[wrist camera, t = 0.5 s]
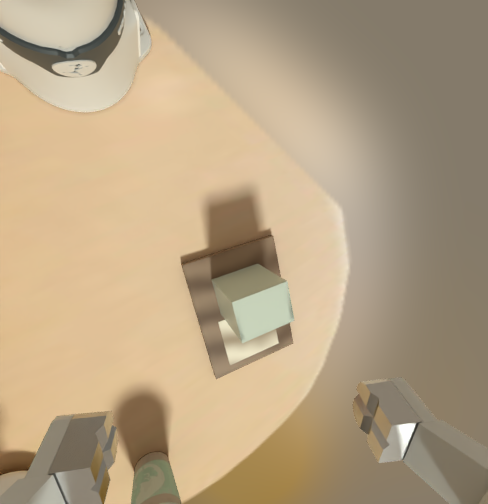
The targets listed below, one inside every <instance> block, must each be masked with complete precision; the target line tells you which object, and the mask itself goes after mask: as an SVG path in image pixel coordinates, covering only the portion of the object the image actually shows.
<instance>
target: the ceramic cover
mask: <svg viewBox="0 0 488 504" xmlns="http://www.w3.org/2000/svg"><path fill="white" fill-rule="evenodd" d="M212 283H213V287H214V291H215V294H216V298H217V302H218V306H219V309H220V313H221V315H222V316H223V318H224V319H225V320H226V322H227V323H228V325H229V326H230V327H231V329H232V330H233V331H234V333H235V334H236V336H237V337H238V338H239V340H240V341H241V343H244V342H247V341H249V340H251V339H253V338H256V337H258V336H260V335H263V334H265V333H267V332H270V331H272V330H274V329H276V328H279V327H281V326H283V325H286V324H288V323H290V322H292V321H294V316H293V310H292V305H291V299H290V293H289V288H288V282H287V281H286V280H284V279H283V278H281V277H279V276H278V275H276V274H274V273H273V272H271V271H269V270H268V269H266V268H264V267H263V266H261V265H259V264H255V265H252V266H249V267H246V268H243V269H240V270H238V271H235V272H232V273H229V274H226V275H223V276H220V277H218V278H215V279H212Z"/></svg>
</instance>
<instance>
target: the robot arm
mask: <svg viewBox="0 0 488 504" xmlns="http://www.w3.org/2000/svg"><path fill="white" fill-rule="evenodd" d="M151 46H152V42H151V37H150V34H149V32H148V30H147V27H146V25H145V23H144V21H143V18H142V16H141V14H140V12H139V9H138V7H137V5H136V3H135V1H134V0H0V71H1V72H4V73H6V74H8V75H11V76H13V77H14V78H16V79H17V80H18V81H19V82H21V83H22V84H23V85H24V86H25V87H26V88H28V89H29V90H30V91H31V92H32V93H34V94H35V95H36V96H38V97H39V98H41V99H43V100H44V101H46V102H48V103H50V104H52V105H54V106H57V107H59V108H62V109H66V110H70V111H75V112H94V111H99V110H103V109H106V108H108V107H110V106H112V105H114V104H115V103H117V102H118V101H119V100H120V99H121V98H122V97H123V96H124V95H125V94H126V93H127V91H128V90H129V88H130V86H131V84H132V82H133V79H134V76H135V72H136V69H137V66H138V64H139V63H140V62H141V61H142V60H143V59H144V58H145V56H146V55H147V54H148V53H149V51H150V50H151ZM357 391H358V393H359V394H358V395H357V396H356V397H355V398H354V401H353V412H354V416H355V419H356V422H357V424H358V426H359V428H360V429H361V430H363V431H364V432H365V433H366V434H368V437H367V443H368V445H369V446H370V448H371V450H372V452H373V454H374V456H375V457H376V459H377V461H378V463H383V462H391V461H399V460H403V462H404V463H405V464H406V465H407V466H408V467H409V468H411V469H412V470H413V471H414V472H415V473H416V474H417V475H418V476H420V477H421V478H422V479H423V480H424V481H425V482H426V483H427V484H428V485H429V486H431V487H432V488H433V489H434V490H435V491H436V492H437V493H438V494H439V495H440V496H442V497H443V498H444V499H445V500H446V501H447V502H449V503H450V504H488V448H487V447H485V446H484V445H482V444H480V443H479V442H477V441H475V440H474V439H472V438H471V437H469V436H467V435H465V434H464V433H462V432H461V431H459V430H458V429H456V428H454V427H453V426H451V425H449V424H448V423H446V422H444V421H443V420H437V419H436V417H435V416H434V415H433V414H432V412H431V411H430V410H429V409H428V408H427V406H426V405H425V404H424V402H423V401H422V400H421V399H420V398H419V396H418V395H417V394H416V393H415V391H414V390H413V389H412V388H411V387H410V385H409V384H408V383H407V382H406V381H405V380H404V379H403V378H391V379H380V380H372V381H364V382H360V383H359V384H358V386H357ZM113 420H114V417H113V413H112V411H105V412H94V413H83V414H72V415H62V416H57V417H56V418H55V419H54V420H53V421H52V423H51V425H50V427H49V429H48V431H47V433H46V435H45V437H44V439H43V441H42V443H41V445H40V447H39V449H38V451H37V453H36V455H35V457H34V459H33V461H32V464H31V466H30V468H29V470H28V472H27V474H26V476H25V478H22V479H18V480H17V481H16V482H15V483H14V484H13V485H12V486H11V487H10V488H8V489H7V490H6V491H5V492H4V493H3V494H2V495H1V496H0V504H104V502H105V498H106V494H107V490H108V486H109V482H110V477H109V473H108V469H109V468H110V467H111V466H112V465H113V463H114V462H115V457H116V453H117V445H118V433H117V428H116V427H115V426H113V425H112V423H113Z"/></svg>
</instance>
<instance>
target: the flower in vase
mask: <svg viewBox="0 0 488 504" xmlns="http://www.w3.org/2000/svg"><path fill="white" fill-rule="evenodd" d="M27 472H28V471H14V472H9V473H6V474H3V475H0V496H1V495H2V494H3V493H4V492H5V491H6V490H7V489H8V488H10V487H11V486H12V485H13V484H14V483H15V482H16V481H17V480H18V479H22V478H25V476H26V474H27Z"/></svg>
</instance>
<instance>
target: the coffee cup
mask: <svg viewBox="0 0 488 504" xmlns="http://www.w3.org/2000/svg"><path fill="white" fill-rule="evenodd" d="M131 504H181V500H180V497H179V493H178V490H177V486H176V483H175V479H174V476H173V473H172V469H171V466H170V462H169V459H168V457H167V455H166V454H164V453H162V452H152V453H149V454H147V455H145V456H144V457H142V458H141V459H140V460H139V461H138V463H137V464H136V466H135V471H134V480H133V489H132V499H131Z"/></svg>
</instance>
